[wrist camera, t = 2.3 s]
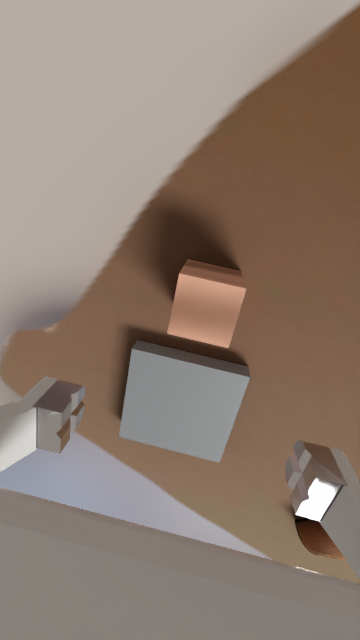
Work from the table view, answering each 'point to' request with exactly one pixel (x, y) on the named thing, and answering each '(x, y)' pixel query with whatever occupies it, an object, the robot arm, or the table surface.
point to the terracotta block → (207, 303)
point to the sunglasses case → (317, 539)
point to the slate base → (181, 400)
